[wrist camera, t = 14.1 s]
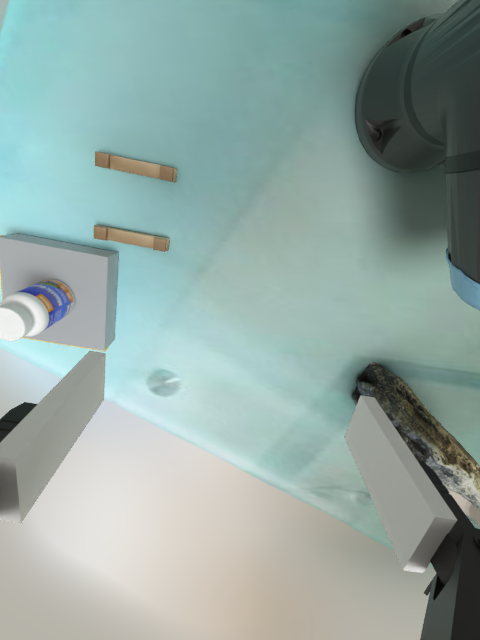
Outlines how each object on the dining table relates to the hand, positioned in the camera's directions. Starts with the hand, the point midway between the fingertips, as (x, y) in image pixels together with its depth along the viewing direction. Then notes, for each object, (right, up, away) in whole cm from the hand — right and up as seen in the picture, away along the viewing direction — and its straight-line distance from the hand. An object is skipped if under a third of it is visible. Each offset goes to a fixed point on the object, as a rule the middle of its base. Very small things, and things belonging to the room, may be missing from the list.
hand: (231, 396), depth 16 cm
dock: (-25, +8, +31) cm, 41 cm away
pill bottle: (-25, +7, +27) cm, 38 cm away
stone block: (+27, -10, +38) cm, 48 cm away
